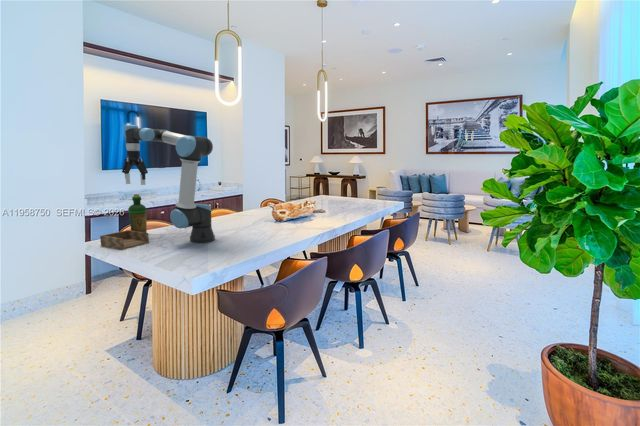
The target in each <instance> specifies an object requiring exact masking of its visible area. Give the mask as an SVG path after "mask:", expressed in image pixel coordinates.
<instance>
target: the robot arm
mask: <svg viewBox="0 0 640 426" xmlns="http://www.w3.org/2000/svg"><path fill="white" fill-rule="evenodd" d="M124 133H125V135H124V136H125V148H126V157H125V158H124V162H123V166H122V171H121V173H123V174H124V177H125V179H124V180H125V184H126V185H129V184H130V185H131V174H130V171H131V169H132V168H133V166H135V167H136V169H138V171H139V173H140V186H144V185H145V186H146V174H148V172H149V171H148V169H147V167H146V164H145V162H144V158H143V157H141V151H140V150H141V149H140V147H141V146H140V142H161V143H165V144H168V145H173V146H175V152H176V153H177V155H178V156H179V160H180V162H181V170H180V180H179V181H180V183H179V193H178V202H176V203H175V208H174V209H173V210H171V212H170V215H169V216H170V217H169V218H170V221H171V222H170V223H171V224H172V225H173V226H174V227H176V228H177V229H186V228H190V227H192V229H191V232H190V235H189V241H190V242H192V243H210V242H213V241H215V239H216V238H215V237H216V236H215V234H214V230H213V227H212V226H213V225H212V208H211V205H210V204H206V203H195V199H196V198H195V197H196V196H195V195H196V186H197V177H198V176H197V175H198V164H199V163H200V162H201V161H202V157H208V156H209V155H210V154H211V153H212V152H213V148H214V147H213V146H214V145H213V142H212V141H211V140H210V139H209V138H208V137H205V136H197V135H186V134H181V133H176V132H172V131H169V130H167V129H157V128H155V129H154V128H150V127H149V128H148V127H141V128H140V127H139V126H138V125H136V124H126V125H125V126H124ZM140 157H141V158H140Z"/></svg>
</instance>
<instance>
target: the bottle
mask: <svg viewBox="0 0 640 426" xmlns="http://www.w3.org/2000/svg"><path fill="white" fill-rule="evenodd" d="M131 201H132V203H133V204H131V205H130V206H128V209H127V210H128V218H129V224H130V225H129V226H130V231H137V232H144V233H148V232H147V227H148V226H147V212H148V211H147V207H146V205H144V204H142V203H141V201H142V196H141V195H140V194H139V193H134V194H133V196H132V198H131Z"/></svg>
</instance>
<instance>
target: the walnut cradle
mask: <svg viewBox="0 0 640 426" xmlns="http://www.w3.org/2000/svg"><path fill="white" fill-rule="evenodd" d="M99 237H100V239H99V240H100V246H101V247H103V248H104V247H105V248H109V249H110V248H111V249H115V250H121V251H123V250H126V249H130V248H134V247H138V246H142V245H146V244H149V243H150V241H149V233H148V232H147V233H144V232H137V231H131V229H130V230H127V229H126V230H123V231H117V232H111V233H108V234H102V235H100V236H99Z"/></svg>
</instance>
